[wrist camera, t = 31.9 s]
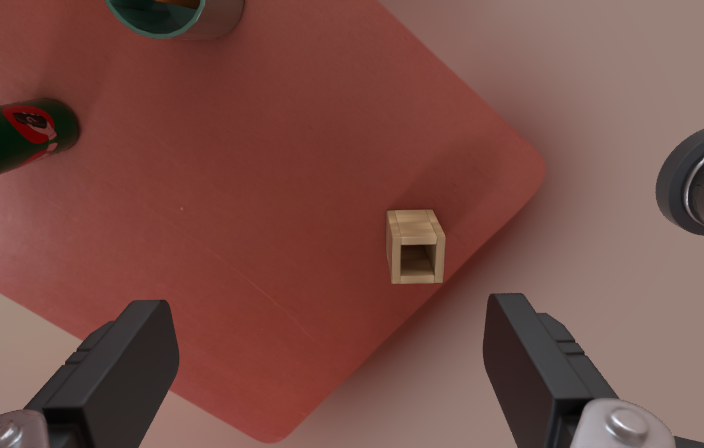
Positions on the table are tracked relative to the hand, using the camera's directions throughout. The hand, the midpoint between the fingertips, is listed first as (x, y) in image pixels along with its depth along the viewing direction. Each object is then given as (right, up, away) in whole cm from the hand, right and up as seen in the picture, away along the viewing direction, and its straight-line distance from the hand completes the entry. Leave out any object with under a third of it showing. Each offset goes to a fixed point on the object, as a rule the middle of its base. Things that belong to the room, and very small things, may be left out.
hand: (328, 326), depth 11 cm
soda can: (-28, +12, +32) cm, 44 cm away
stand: (+7, +2, +36) cm, 37 cm away
